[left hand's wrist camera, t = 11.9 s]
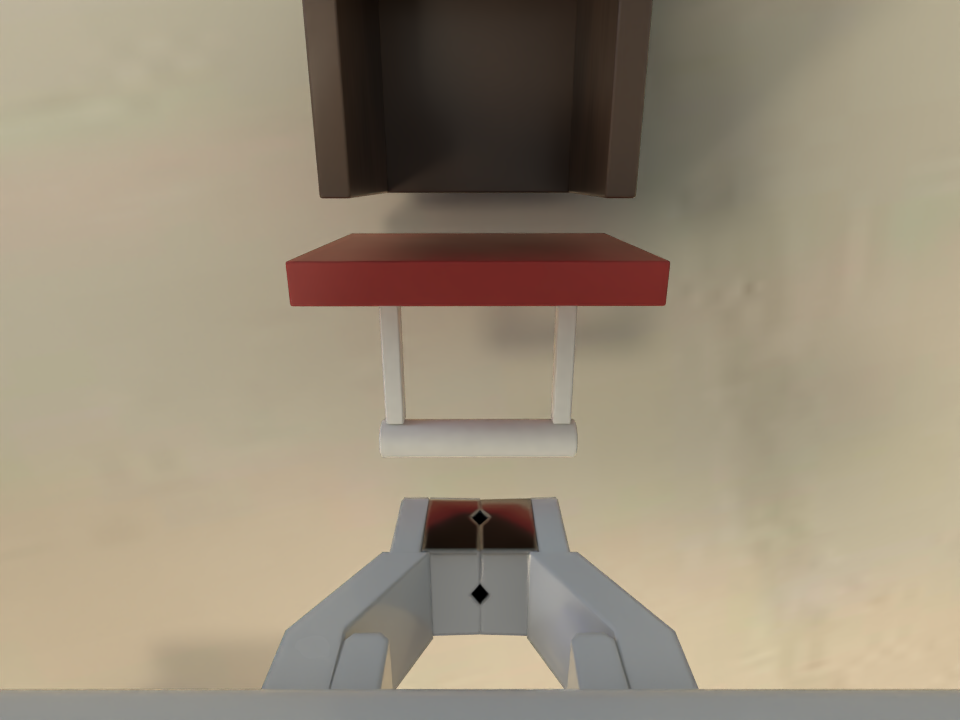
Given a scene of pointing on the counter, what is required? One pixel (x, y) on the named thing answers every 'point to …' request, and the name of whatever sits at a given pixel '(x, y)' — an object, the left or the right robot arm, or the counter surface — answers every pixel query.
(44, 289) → the counter surface
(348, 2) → the drawer
